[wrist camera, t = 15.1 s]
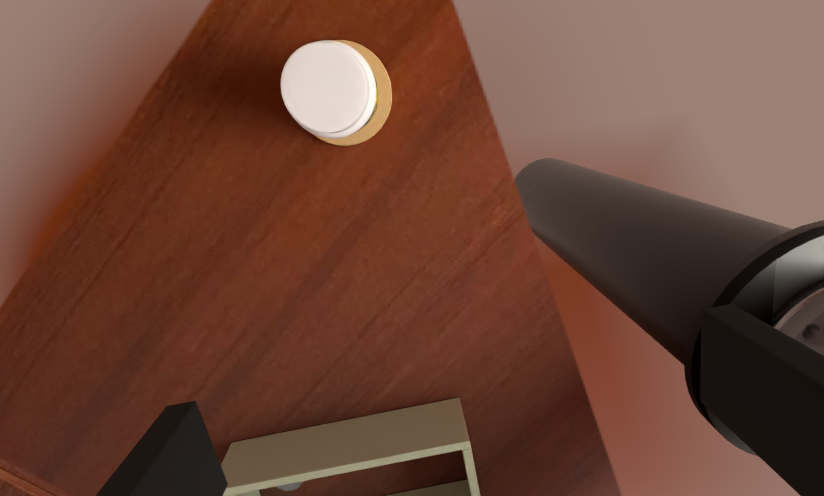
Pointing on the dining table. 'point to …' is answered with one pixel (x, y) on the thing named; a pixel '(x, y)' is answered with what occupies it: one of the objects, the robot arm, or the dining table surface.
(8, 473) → the dining table surface
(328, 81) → the supplement bottle
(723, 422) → the robot arm
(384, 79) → the coaster
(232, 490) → the open rectangular box
